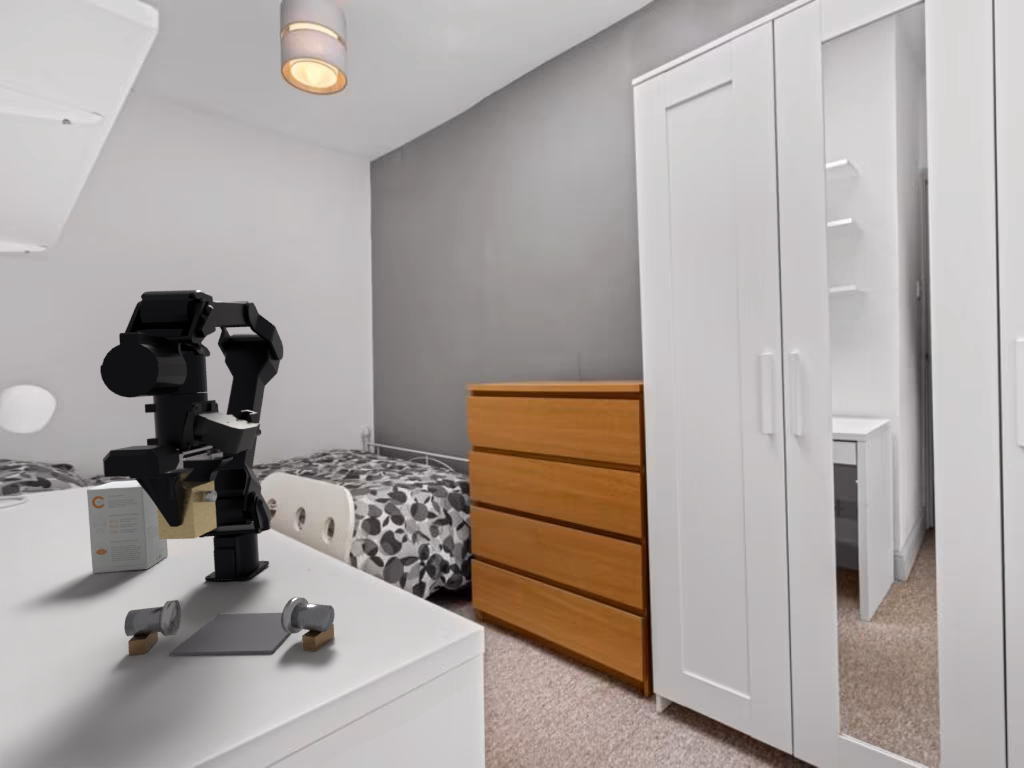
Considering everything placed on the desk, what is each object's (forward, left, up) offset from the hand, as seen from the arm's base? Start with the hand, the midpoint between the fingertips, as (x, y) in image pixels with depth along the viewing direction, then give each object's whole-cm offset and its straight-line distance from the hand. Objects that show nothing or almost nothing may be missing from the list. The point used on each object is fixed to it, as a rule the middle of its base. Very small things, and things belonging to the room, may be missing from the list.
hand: (188, 520), depth 68 cm
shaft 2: (+8, +18, -12) cm, 23 cm away
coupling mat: (+5, +9, -12) cm, 16 cm away
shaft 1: (+8, +1, -12) cm, 14 cm away
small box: (-19, -22, -12) cm, 31 cm away
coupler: (0, 0, -2) cm, 2 cm away
